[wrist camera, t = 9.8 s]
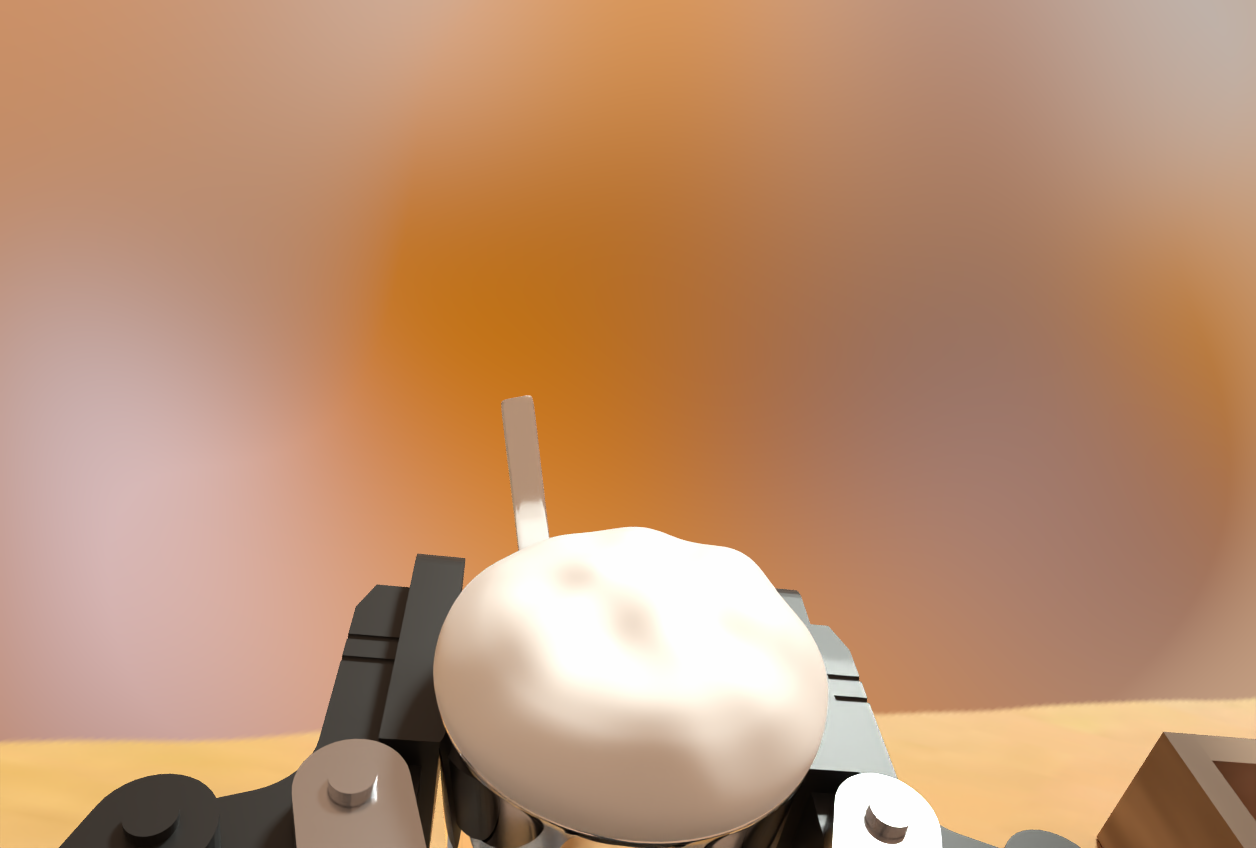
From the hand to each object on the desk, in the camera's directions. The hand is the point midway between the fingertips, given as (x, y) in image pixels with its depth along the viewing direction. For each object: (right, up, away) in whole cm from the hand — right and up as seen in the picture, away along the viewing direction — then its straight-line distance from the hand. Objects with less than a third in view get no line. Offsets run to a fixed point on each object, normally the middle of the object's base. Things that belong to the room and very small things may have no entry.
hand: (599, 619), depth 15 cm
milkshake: (-1, -7, +1) cm, 7 cm away
